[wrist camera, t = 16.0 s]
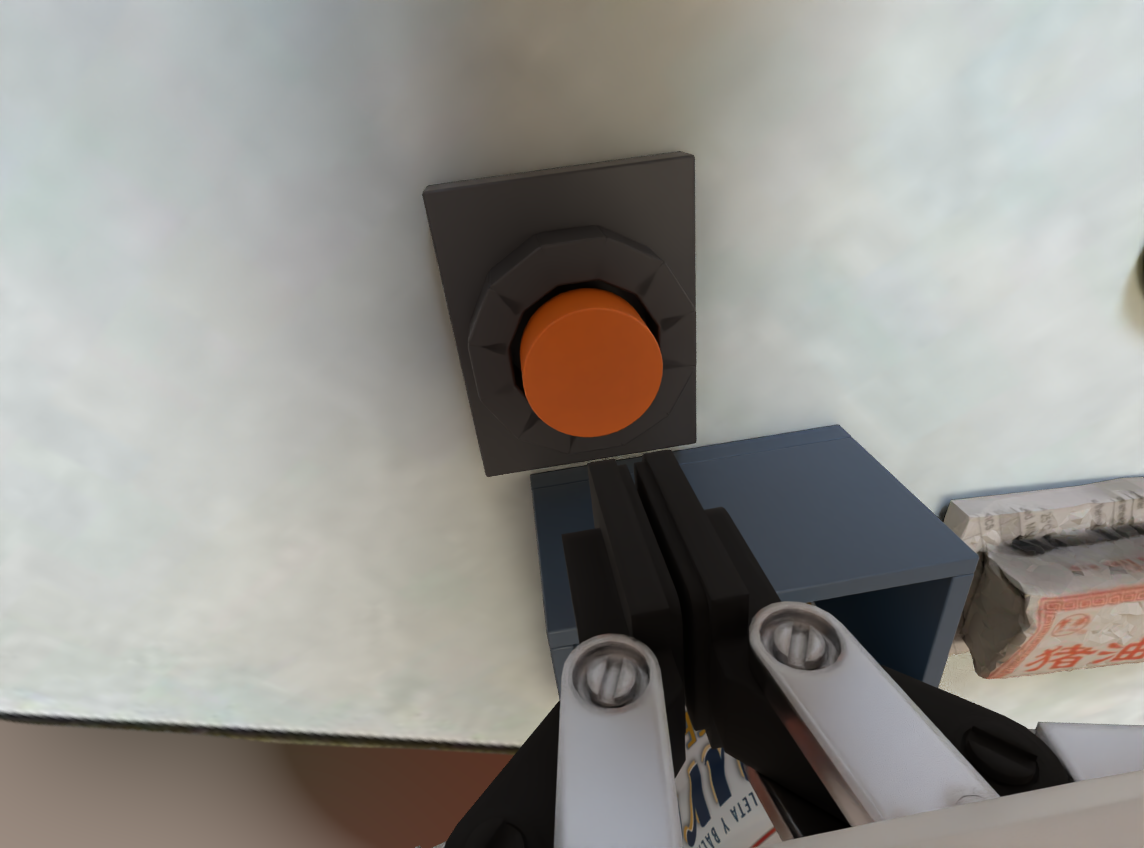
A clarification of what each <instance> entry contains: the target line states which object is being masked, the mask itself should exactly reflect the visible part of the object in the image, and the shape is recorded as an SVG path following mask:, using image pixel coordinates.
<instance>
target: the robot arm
mask: <svg viewBox="0 0 1144 848" xmlns="http://www.w3.org/2000/svg"><path fill="white" fill-rule="evenodd" d="M587 467H588V476H589V485H590V493H591V501H592V509H593V517H594V526H595V529H589V530H583V531H578V532H572V533H566V534H561V536H562V543H563V549H564V555H565V562H566V568H567V574H568V580H569V586H570V593H571V599H572V605H573V611H574V616H575V622H576V628H577V634H578V640H579V645H578V646H577V647H576V648H575V649H574V650H573V651H571V653H570V655H569V656H568V658H567V660H566V661H565V663H564V667H563V672H562V677H561V699H560V700H559V702H558V703H557V704H556V705H555V707H554V708H553V709H552V710H551V711H550V713H549V714H548V715H547V716H546V717H545V719H544V720H543V721H542V722H541V723H540V725H539V726H538V727H537V728H536V730H535V731H534V732H533V733H532V734H531V736H530V737H529V738H528V739H527V740H526V742H525V743H524V744H523V745H522V747H521V748H520V749H519V750H518V751H517V753H516V754H515V755H514V756H513V757H512V759H511V760H510V761H509V763H508V764H507V765H506V766H505V767H504V768H503V770H502V771H501V772H500V773H499V775H498V776H497V777H496V778H495V779H494V780H493V782H492V783H491V784H490V785H489V787H488V788H487V789H486V790H485V791H484V793H483V794H482V795H481V796H480V797H479V799H478V800H477V801H476V802H475V804H474V805H473V806H472V807H471V809H470V810H469V811H468V812H467V813H466V815H465V816H464V817H463V818H462V819H461V821H460V822H459V823H458V824H457V826H456V827H455V829H454V831H453V832H452V833H451V835H450V837H449V838H448V840H447V841H446V842H444V843H442V844H440V845H437V846H435V847H433V848H684V847H683V839H682V831H681V823H680V816H679V808H678V800H677V792H676V785H675V778H676V776H677V775H678V773H679V771H680V769H681V768H682V766H683V764H684V763H685V761H686V750H685V733H686V713H685V706H686V709H687V712H688V715H689V718H690V721H691V724H692V726H693V729H694V730H695V731H699V730H704V729H705V732H706V734H707V737H708V740H709V743H710V746H711V749H717V748H722V747H723V749H724V751H725V753H727V754H728V755H730V756H732V757H733V758H735V759H737V760H739V761H740V762H742V763H744V770H745V772H746V775H747V778H748V780H749V782H750V784H751V786H752V788H753V790H754V791H755V793H756V795H757V797H758V799H759V800H760V802H761V804H762V806H763V808H764V810H765V811H766V813H767V815H768V817H769V819H770V820H771V822H772V824H773V826H774V828H775V829H776V831H777V833H778V835H779V837H780V839H781V840H782V842H778V843H773V844H768V845H763V846H758V847H754V848H1144V726H1143V725H1113V724H1084V723H1055V722H1038V724H1037V727H1036V729H1027V728H1026V727H1025V726H1023V725H1021V724H1019V723H1017V722H1015V721H1013V720H1011V719H1009V718H1008V717H1006V716H1004V715H1001V714H999V713H996V712H994V711H992V710H989V709H987V708H984V707H982V706H980V705H977V704H975V703H972V702H970V701H968V700H965V699H963V698H960V697H958V696H956V695H953V694H951V693H948V692H946V691H944V690H941V689H939V688H936V687H934V686H932V685H929V684H927V683H924V682H922V681H920V680H917V679H915V678H912V677H910V676H908V675H905V674H903V673H900V672H898V671H896V670H893V669H891V668H888V667H886V666H884V665H881V664H879V663H878V662H877V661H876V660H875V659H874V658H873V657H872V656H871V655H870V654H869V653H868V652H867V650H866V649H865V648H864V647H863V646H862V645H861V644H860V643H859V642H858V641H857V639H856V638H855V637H854V636H853V635H852V634H851V633H850V632H849V631H848V630H847V629H846V627H845V626H844V625H843V624H842V623H841V622H839V621H838V620H837V619H836V618H835V617H834V616H832V615H831V614H830V613H828V612H826V611H824V610H822V609H820V608H818V607H816V606H813V605H810V604H806V603H802V602H792V601H784V602H782V601H781V600H780V598H779V596H778V595H777V593H776V591H775V590H774V588H773V586H772V585H771V583H770V581H769V580H768V578H767V576H766V575H765V573H764V571H763V570H762V568H761V566H760V565H759V563H758V561H757V560H756V558H755V556H754V555H753V553H752V551H751V550H750V548H749V546H748V545H747V543H746V541H745V540H744V538H743V536H742V535H741V533H740V531H739V530H738V528H737V526H736V525H735V523H734V521H733V520H732V518H731V516H730V515H729V513H728V512H727V511H726V509H725V508H723V507H717V508H711V509H705V510H704V509H703V507H702V505H701V503H700V502H699V500H698V498H697V496H696V494H695V492H694V491H693V489H692V487H691V485H690V483H689V481H688V480H687V478H686V476H685V474H684V472H683V470H682V469H681V467H680V465H679V463H678V461H677V459H676V458H675V456H674V454H673V452H672V451H671V450H664V451H657V452H651V453H645V454H643V456H642V461H641V462H635V463H634V481H635V484H634V482H633V479H632V477H631V474H630V472H629V469H628V467H627V465H626V464H623V465H617V463H616V461H615V459H609V460H603V461H597V462H591V463H588V464H587ZM416 848H421V847H420V846H418V847H416Z"/></svg>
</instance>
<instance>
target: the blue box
mask: <svg viewBox="0 0 1144 848" xmlns="http://www.w3.org/2000/svg"><path fill="white" fill-rule="evenodd" d="M673 454H674V456H675V458H676V459H677V461H678V463H679V465H680V467H681V469H682V470H683V472H684V474H685V476H686V478H687V480H688V481H689V483H690V485H691V487H692V489H693V491H694V492H695V494H696V496H697V498H698V500H699V502H700V503H701V505H702V507H703V509H704V510H705V509H711V508H717V507H723V508H725V509H726V511H727V512H728V513H729V515H730V516H731V518H732V520H733V521H734V523H735V525H736V526H737V528H738V530H739V531H740V533H741V535H742V536H743V538H744V540H745V541H746V543H747V545H748V546H749V548H750V550H751V551H752V553H753V555H754V556H755V558H756V560H757V561H758V563H759V565H760V566H761V568H762V570H763V571H764V573H765V575H766V576H767V578H768V580H769V581H770V583H771V585H772V586H773V588H774V590H775V591H776V593H777V595H778V596H779V598H780V600H781V601H782V602H784V601H792V602H802V603H808V602H814V603H815V604H816V606H817V607H818V608H820V609H822V610H824V611H826V612H828V613H830V614H831V615H832V616H834V617H835V618H836V619H837V620H838V621H839V622H841V623H842V624H843V625H844V626H845V627H846V629H847V630H848V631H849V632H850V633H851V634H852V635H853V636H854V637H855V638H856V639H857V641H858V642H859V643H860V644H861V645H862V646H863V647H864V648H865V649H866V650H867V652H868V653H869V654H870V655H871V656H872V657H873V658H874V659H875V660H876V661H877V662H878V663H879V664H881V665H884V666H886V667H888V668H891V669H893V670H896V671H898V672H900V673H903V674H905V675H908V676H910V677H912V678H915V679H917V680H920V681H922V682H924V683H927V684H929V685H932V686H934V687H936V688H938V686H939V683H940V680H941V677H942V674H943V671H944V668H945V665H946V661H947V658H948V655H949V652H950V649H951V646H952V643H953V639H954V636H955V633H956V630H957V627H958V624H959V621H960V617H961V614H962V611H963V608H964V605H965V602H966V599H967V595H968V592H969V589H970V586H971V583H972V580H973V577H974V572H975V570H976V566H977V563H978V560H979V556H978V554H977V553H975V552H974V551H973V550H972V549H971V548H970V547H969V546H968V545H967V544H966V543H965V542H964V541H963V540H962V539H960V538H959V537H958V536H957V535H956V534H955V533H954V532H953V531H952V530H951V529H950V528H949V527H948V526H947V525H945V524H944V523H943V522H942V521H941V520H940V519H939V518H938V517H937V516H936V515H935V514H934V513H933V512H932V511H930V510H929V509H928V508H927V507H926V506H925V505H924V504H923V503H922V502H921V501H920V500H919V499H918V498H917V497H915V496H914V495H913V494H912V493H911V492H910V491H909V490H908V489H907V488H906V487H905V486H904V485H903V484H902V483H900V482H899V481H898V480H897V479H896V478H895V477H894V476H893V475H892V474H891V473H890V472H889V471H888V470H887V469H885V468H884V467H883V466H882V465H881V464H880V463H879V462H878V461H877V460H876V459H875V458H874V457H873V456H872V455H871V454H869V453H868V452H867V451H866V450H865V449H864V448H863V447H862V446H861V445H860V444H859V443H858V442H857V441H856V440H854V439H853V438H852V437H851V435H849V434H848V433H847V432H846V431H845V430H844V429H843V428H842V427H841V426H840V425H834V426H828V427H822V428H816V429H809V430H803V431H797V432H791V433H785V434H779V435H773V436H767V437H760V438H754V439H748V440H742V441H736V442H730V443H724V444H717V445H711V446H705V447H699V448H693V449H687V450H681V451H675V452H673ZM641 461H642V457H638V458H632V459H626V460H619V461H616V463H617V465H623V464H626V465H627V467H628V469H629V472H630V474H631V477H632V479H633V482H634V484H635V481H634V463H635V462H641ZM530 479H531V489H532V498H533V508H534V517H535V527H536V536H537V546H538V555H539V565H540V574H541V584H542V593H543V603H544V613H545V622H546V632H547V637H548V642H549V646H550V653H551V658H552V663H553V668H554V673H555V678H556V683H557V688H558V693H559V699H561V677H562V672H563V667H564V663H565V661H566V660H567V658H568V656H569V655H570V653H571V651H573V650H574V649H575V648H576V647H577V646H578V645H579V640H578V634H577V628H576V622H575V616H574V611H573V605H572V599H571V593H570V586H569V580H568V574H567V568H566V562H565V555H564V549H563V543H562V536H561V534H566V533H572V532H578V531H583V530H589V529H595V526H594V517H593V509H592V501H591V493H590V485H589V476H588V467H587V466H583V467H577V468H570V469H564V470H558V471H552V472H546V473H540V474H534V475H530Z"/></svg>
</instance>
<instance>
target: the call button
mask: <svg viewBox="0 0 1144 848" xmlns="http://www.w3.org/2000/svg"><path fill="white" fill-rule="evenodd" d="M520 362H521V371H522V379H523V387H524V392H525V395H526V398H527V400H528V403H529V404H530V406H531V408H532V409H533V411H534V412H535V413H536V415H537V416H538V417H539V418H540V419H541V420H542V421H543V422H545V423H546V424H547V425H549V426H550V427H552V428H554V429H556V430H557V431H560V432H562V433H565V434H568V435H572V436H577V437H599V436H604V435H609V434H611V433H614V432H617V431H619V430H621V429H624V428H625V427H627V426H629V425H630V424H632V423H633V422H635V421H636V420H637V419H638V418H640V417H641V416H642V415H643V414H644V413H645V411H646V410H647V409H648V408H649V406H650V405H651V404H652V402H653V400H654V399H655V397H656V395H657V392H658V390H659V387H660V384H661V380H662V374H663V362H662V355H661V351H660V348H659V345H658V343H657V341H656V339H655V337H654V336H653V334H652V333H651V331H650V330H649V328H648V327H647V325H646V324H645V323H644V321H643V320H642V318H641V317H640V315H639V314H638V312H637V311H636V310H635V309H634V308H633V306H631V305H630V304H629V303H628V302H627V301H626V300H624V299H623V298H621V297H620V296H618V295H616V294H614V293H612V292H609V291H606V290H601V289H596V288H580V289H574V290H569V291H566V292H563V293H561V294H559V295H557V296H555V297H553V298H551V299H550V300H548V301H547V302H545V303H544V304H543V305H542V306H541V307H539V308H538V309H537V311H536V312H535V313H534V314H533V315H532V317H531V318H530V320H529V321H528V323H527V325H526V327H525V329H524V332H523V335H522V338H521V343H520Z"/></svg>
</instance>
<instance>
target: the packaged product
mask: <svg viewBox="0 0 1144 848" xmlns="http://www.w3.org/2000/svg"><path fill="white" fill-rule="evenodd" d="M943 523H944V524H945V525H947V526H948V527H949V528H950V529H951V530H952V531H953V532H954V533H955V534H956V535H957V536H958V537H959V538H960V539H962V540H963V541H964V542H965V543H966V544H967V545H968V546H969V547H970V548H971V549H972V550H973V551H974V552H975V553H977V554H978V556H979V560H978V563H977V566H976V570H975V572H974V577H973V580H972V583H971V586H970V589H969V592H968V595H967V599H966V602H965V605H964V608H963V611H962V614H961V617H960V621H959V624H958V627H957V630H956V633H955V636H954V639H953V643H952V646H951V649H950V652H949V655H953V654H960V653H965V652H969V651H970V653H971V655H972V659H973V664H974V668H975V672H976V673H977V674H978V675H979V676H980V677H982V678H984V679H995V678H1008V677H1020V676H1031V675H1038V674H1047V673H1053V672H1060V671H1071V670H1073V669H1087V668H1095V667H1102V666H1107V665H1119V664H1126V663H1139V662H1144V477H1133V478H1119V479H1113V480H1108V481H1102V482H1097V483H1091V484H1086V485H1080V486H1073V487H1064V488H1055V489H1046V490H1037V491H1028V492H1019V493H1011V494H1002V495H993V496H984V497H975V498H966V499H957V500H951V501H950V504H949V507H948V510H947V513H946V516H945V519H944V522H943ZM949 655H948V656H949Z"/></svg>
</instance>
